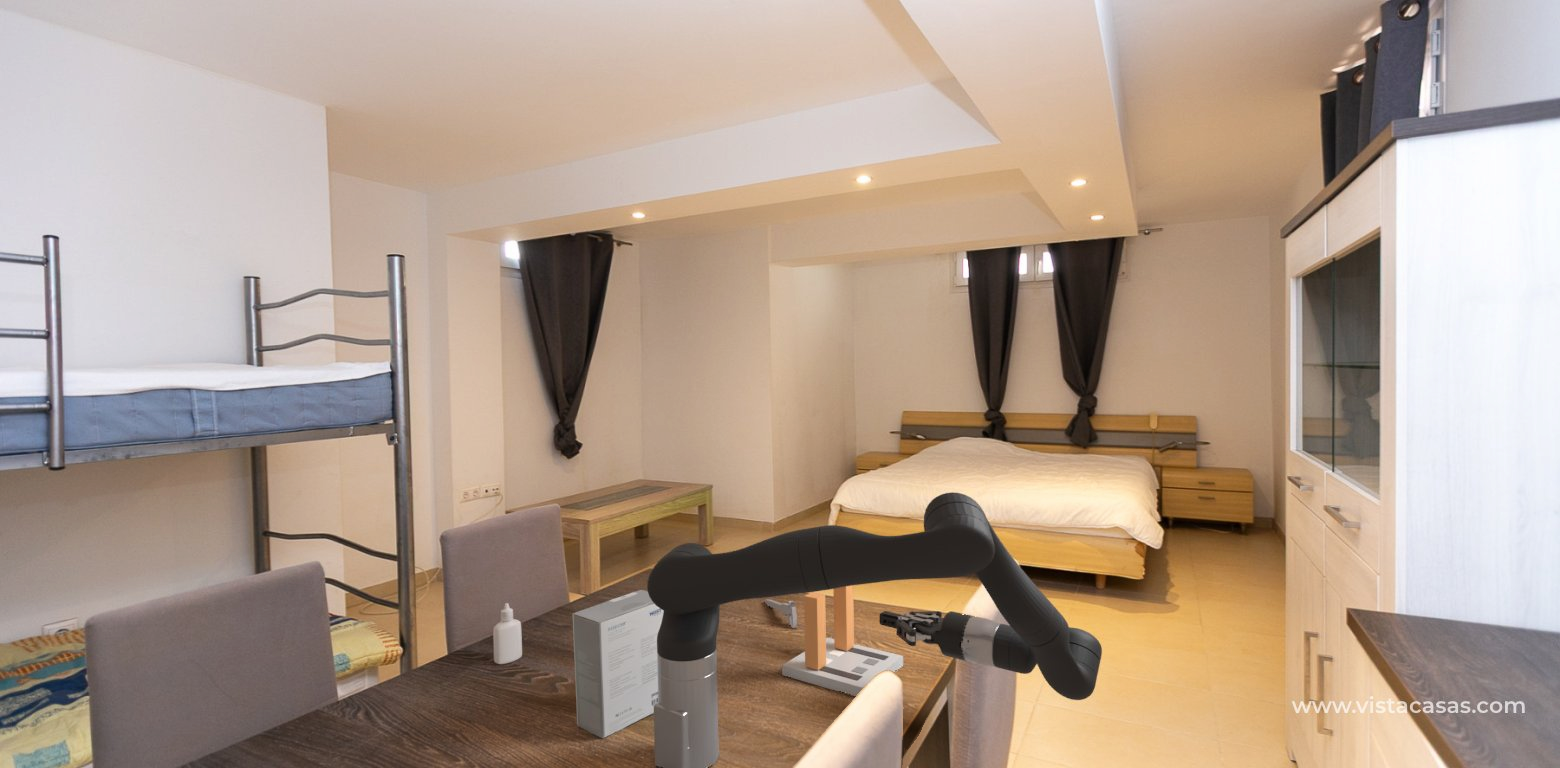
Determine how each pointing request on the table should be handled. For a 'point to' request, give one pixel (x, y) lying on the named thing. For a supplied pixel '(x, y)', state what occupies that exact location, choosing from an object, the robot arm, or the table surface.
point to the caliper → (785, 610)
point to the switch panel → (844, 667)
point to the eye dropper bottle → (507, 638)
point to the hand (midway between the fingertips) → (881, 617)
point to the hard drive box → (616, 662)
